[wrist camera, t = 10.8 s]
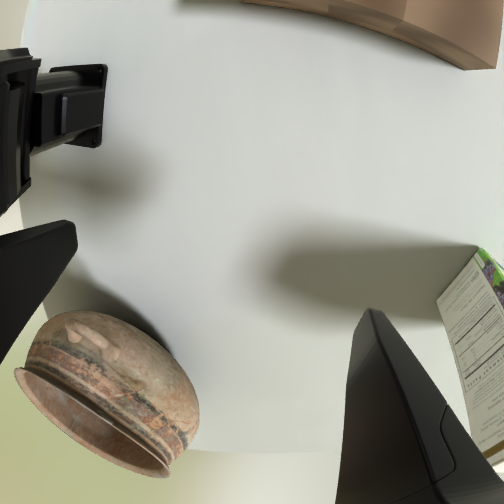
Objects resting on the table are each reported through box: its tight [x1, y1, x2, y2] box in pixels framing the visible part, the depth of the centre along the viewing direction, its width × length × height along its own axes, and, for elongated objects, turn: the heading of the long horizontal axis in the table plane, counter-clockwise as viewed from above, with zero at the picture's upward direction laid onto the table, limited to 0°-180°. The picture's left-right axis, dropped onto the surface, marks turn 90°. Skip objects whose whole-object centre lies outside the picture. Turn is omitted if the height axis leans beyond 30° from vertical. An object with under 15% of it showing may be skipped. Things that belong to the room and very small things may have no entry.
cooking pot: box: [14, 310, 199, 478], centre depth 26 cm, size 25×19×12 cm
